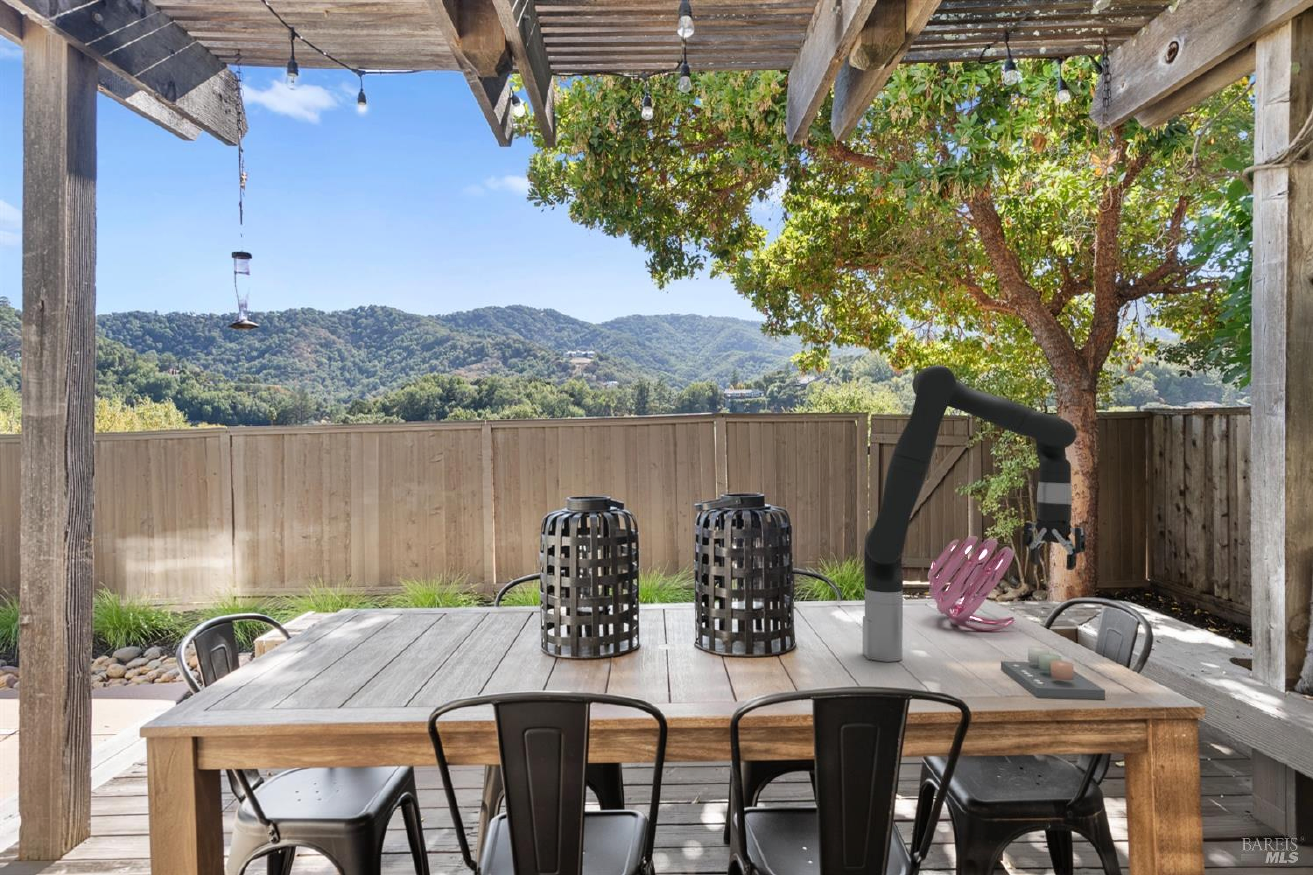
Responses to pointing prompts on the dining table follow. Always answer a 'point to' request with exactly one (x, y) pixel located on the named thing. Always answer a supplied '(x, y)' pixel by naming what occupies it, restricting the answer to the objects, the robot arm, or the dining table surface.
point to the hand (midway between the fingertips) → (1052, 566)
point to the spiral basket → (968, 581)
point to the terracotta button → (1062, 670)
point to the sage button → (1047, 660)
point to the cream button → (1035, 653)
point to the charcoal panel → (1051, 682)
